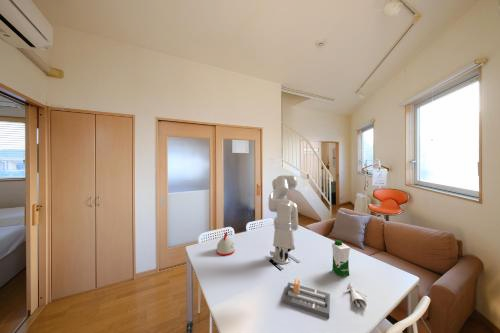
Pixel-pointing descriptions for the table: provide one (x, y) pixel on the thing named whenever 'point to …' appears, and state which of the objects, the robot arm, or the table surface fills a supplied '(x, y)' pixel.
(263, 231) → the table surface
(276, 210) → the robot arm
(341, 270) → the milk carton
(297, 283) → the fader
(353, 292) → the woman figurine
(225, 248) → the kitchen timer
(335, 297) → the table surface
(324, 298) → the console
